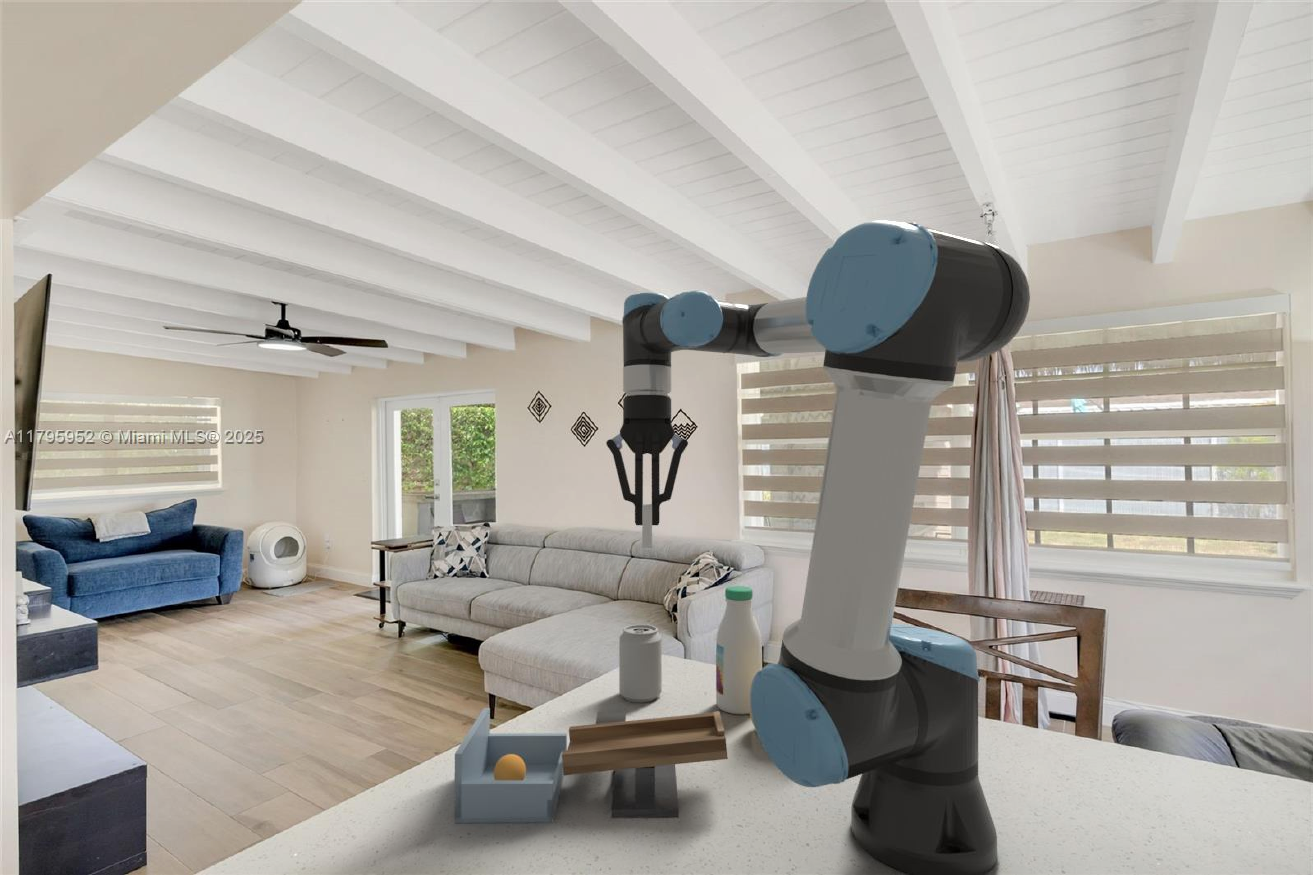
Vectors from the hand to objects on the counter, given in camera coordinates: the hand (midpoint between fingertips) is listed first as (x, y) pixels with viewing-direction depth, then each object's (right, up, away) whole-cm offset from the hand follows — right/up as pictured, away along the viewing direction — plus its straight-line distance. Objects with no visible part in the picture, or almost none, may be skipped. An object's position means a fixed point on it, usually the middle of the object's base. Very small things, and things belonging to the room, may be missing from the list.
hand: (647, 546), depth 103 cm
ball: (-17, -26, -19) cm, 36 cm away
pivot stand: (0, -28, -19) cm, 34 cm away
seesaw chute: (0, -23, -15) cm, 27 cm away
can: (-1, -29, +14) cm, 32 cm away
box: (-16, -28, -19) cm, 38 cm away
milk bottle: (+15, -29, +9) cm, 34 cm away
